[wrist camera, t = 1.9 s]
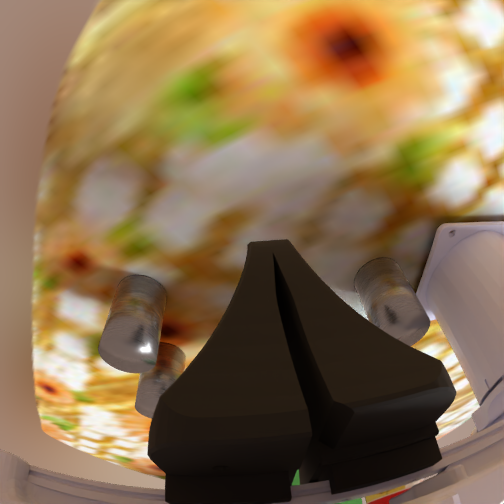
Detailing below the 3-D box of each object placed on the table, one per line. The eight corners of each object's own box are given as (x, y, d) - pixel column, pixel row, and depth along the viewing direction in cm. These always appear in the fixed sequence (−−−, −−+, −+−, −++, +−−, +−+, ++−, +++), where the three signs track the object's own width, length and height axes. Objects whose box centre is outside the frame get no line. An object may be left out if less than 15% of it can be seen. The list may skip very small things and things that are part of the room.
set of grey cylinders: (403, 255, 18) (437, 309, 14) (372, 349, 23) (390, 397, 19) (111, 276, 17) (89, 336, 14) (150, 367, 22) (143, 419, 19)
